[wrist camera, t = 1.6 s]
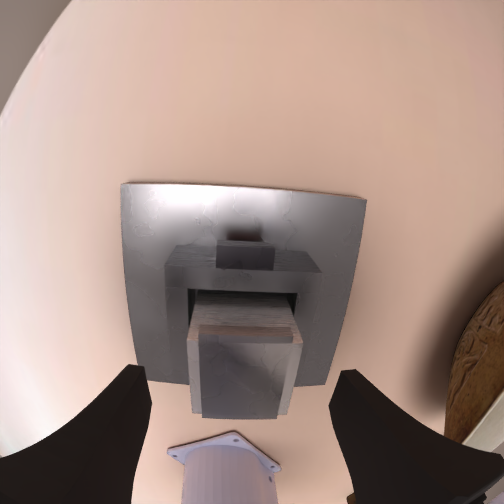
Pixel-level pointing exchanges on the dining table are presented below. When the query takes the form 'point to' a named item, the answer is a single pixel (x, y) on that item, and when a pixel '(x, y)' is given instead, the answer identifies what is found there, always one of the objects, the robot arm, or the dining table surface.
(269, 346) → the silver metal block
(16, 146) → the dining table surface
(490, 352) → the bowl
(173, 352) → the grey square plate
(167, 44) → the dining table surface
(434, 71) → the dining table surface
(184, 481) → the robot arm
